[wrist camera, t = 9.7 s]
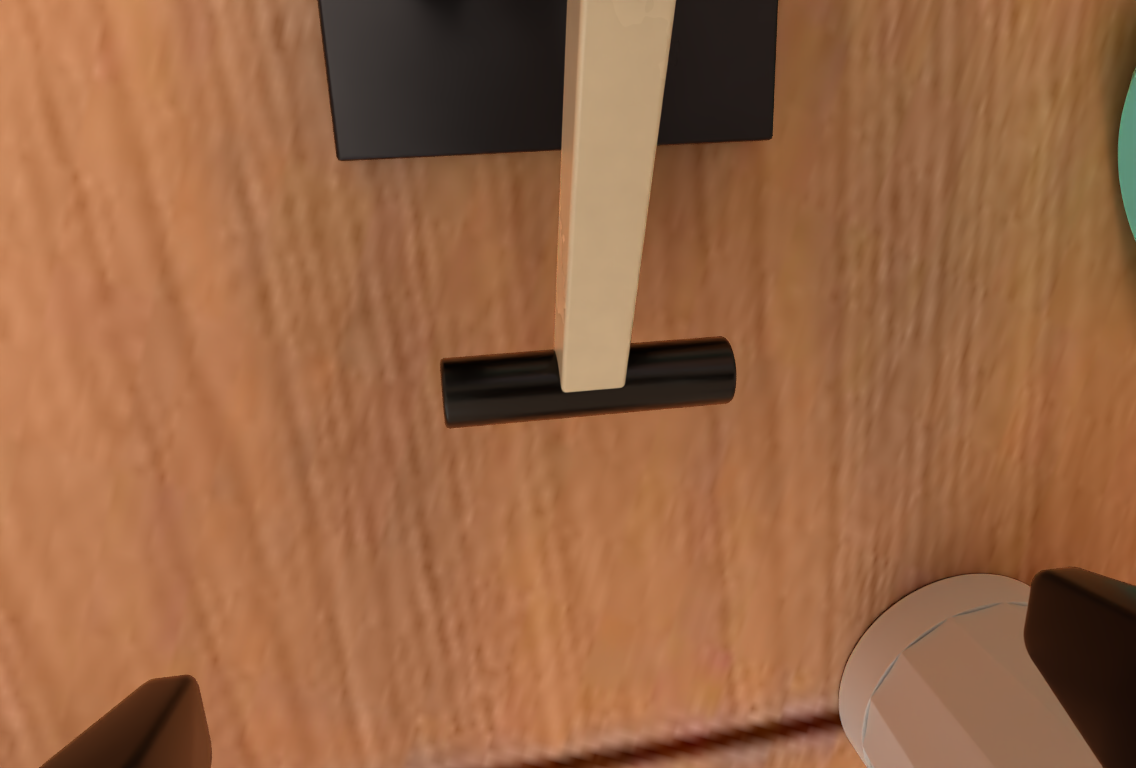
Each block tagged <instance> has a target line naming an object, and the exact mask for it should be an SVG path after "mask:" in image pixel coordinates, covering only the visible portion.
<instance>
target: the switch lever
mask: <svg viewBox="0 0 1136 768" xmlns="http://www.w3.org/2000/svg"><path fill="white" fill-rule="evenodd" d="M675 5H676V0H567V19H566V45H565V70H564V96H563V121H562V147H561V172H560V198H559V223H558V249H557V275H556V300H555V326H554V349H553V350H541V351H528V352H516V353H503V354H491V355H478V356H465V357H453V358H443V359H441V361H440V372H441V385H442V397H443V408H444V418H445V425H446V427H447V428H461V427H473V426H484V425H495V424H506V423H517V422H528V421H539V420H550V419H561V418H572V417H583V416H594V415H605V414H617V413H628V412H639V411H650V410H661V409H672V408H683V407H694V406H705V405H716V404H726V403H729V402H730V401H731V400H732V399H733V396H734V393H735V388H736V364H735V358H734V354H733V351H732V348H731V345H730V343H729V341H728V340H727V339H726V338H725V337H722V336H717V337H704V338H692V339H679V340H667V341H654V342H641V343H631V336H632V328H633V321H634V313H635V306H636V298H637V291H638V283H639V275H640V268H641V260H642V253H643V245H644V238H645V230H646V223H647V215H648V208H649V200H650V193H651V185H652V178H653V170H654V163H655V155H656V148H657V140H658V133H659V125H660V118H661V110H662V103H663V95H664V88H665V80H666V72H667V65H668V57H669V50H670V42H671V35H672V27H673V20H674V12H675Z"/></svg>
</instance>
